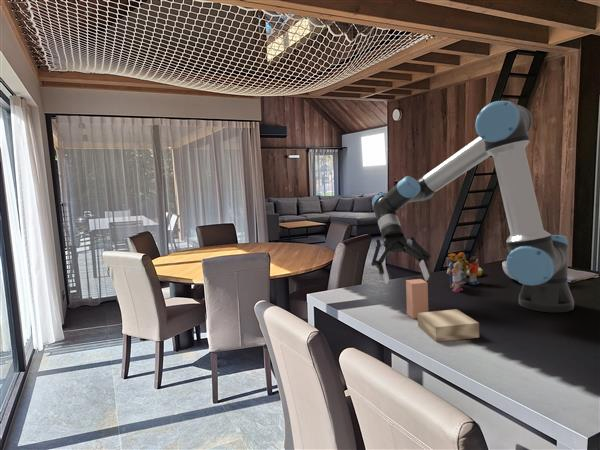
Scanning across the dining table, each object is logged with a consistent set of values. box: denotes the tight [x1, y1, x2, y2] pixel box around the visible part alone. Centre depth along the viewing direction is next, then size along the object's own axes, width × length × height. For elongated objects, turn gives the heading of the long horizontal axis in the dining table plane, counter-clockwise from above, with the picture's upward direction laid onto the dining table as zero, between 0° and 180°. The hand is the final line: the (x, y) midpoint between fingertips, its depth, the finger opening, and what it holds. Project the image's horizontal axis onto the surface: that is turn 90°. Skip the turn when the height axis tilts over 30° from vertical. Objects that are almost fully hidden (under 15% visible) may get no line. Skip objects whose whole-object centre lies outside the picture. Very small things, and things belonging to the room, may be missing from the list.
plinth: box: [417, 308, 480, 343], centre depth 112 cm, size 12×12×4 cm
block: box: [405, 278, 429, 320], centre depth 127 cm, size 5×5×11 cm
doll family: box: [446, 252, 480, 293], centre depth 158 cm, size 21×10×13 cm, turn 132°
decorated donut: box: [466, 267, 484, 278], centre depth 175 cm, size 10×11×4 cm
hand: (407, 280), depth 132 cm, fingers open, 13 cm apart
